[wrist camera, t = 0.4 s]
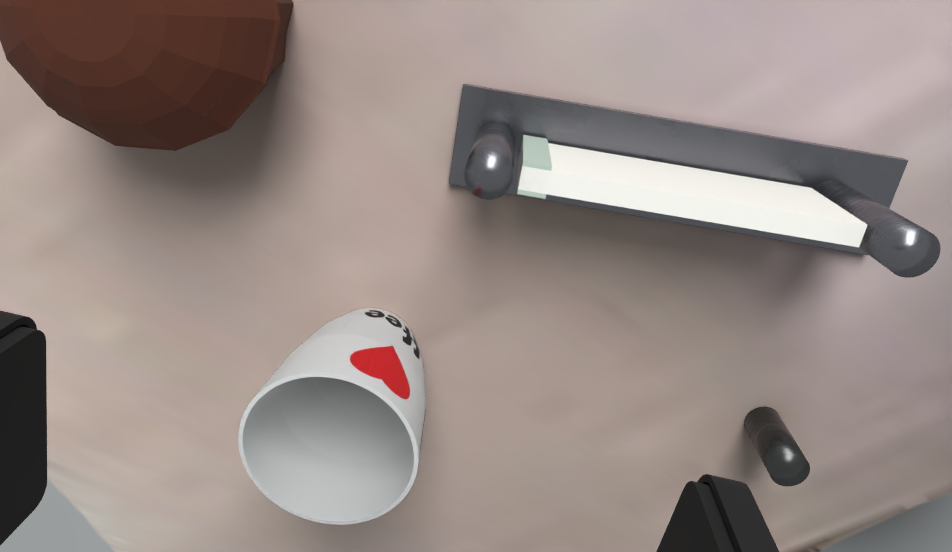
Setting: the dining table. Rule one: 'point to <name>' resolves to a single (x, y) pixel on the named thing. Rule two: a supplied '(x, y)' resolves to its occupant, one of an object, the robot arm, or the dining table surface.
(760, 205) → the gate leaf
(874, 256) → the gate frame
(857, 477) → the dining table surface
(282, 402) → the cup
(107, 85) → the muffin
